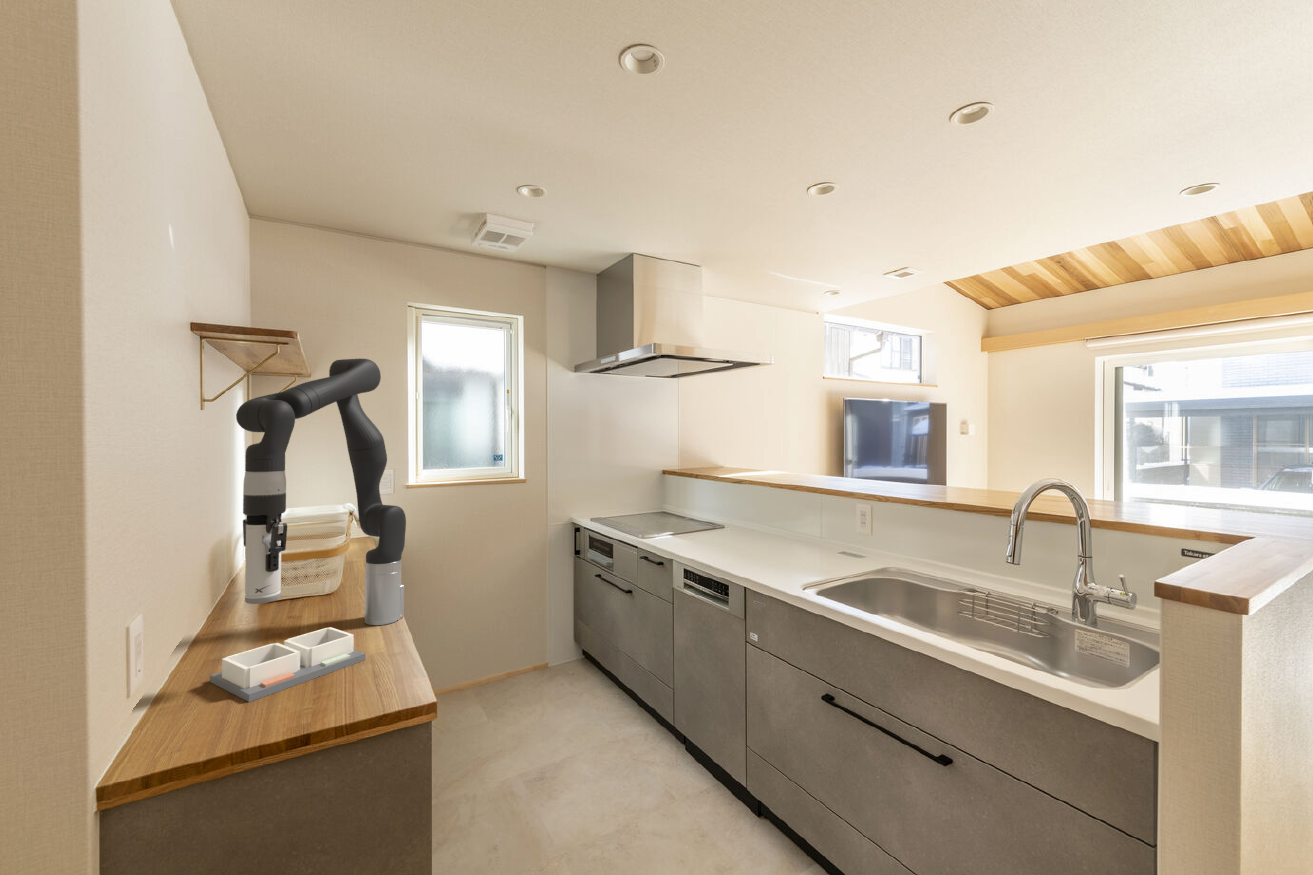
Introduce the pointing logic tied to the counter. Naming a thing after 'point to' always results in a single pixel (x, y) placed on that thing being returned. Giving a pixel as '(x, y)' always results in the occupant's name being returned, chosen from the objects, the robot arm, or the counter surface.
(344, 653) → the holder board
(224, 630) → the counter surface
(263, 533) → the travel mug
